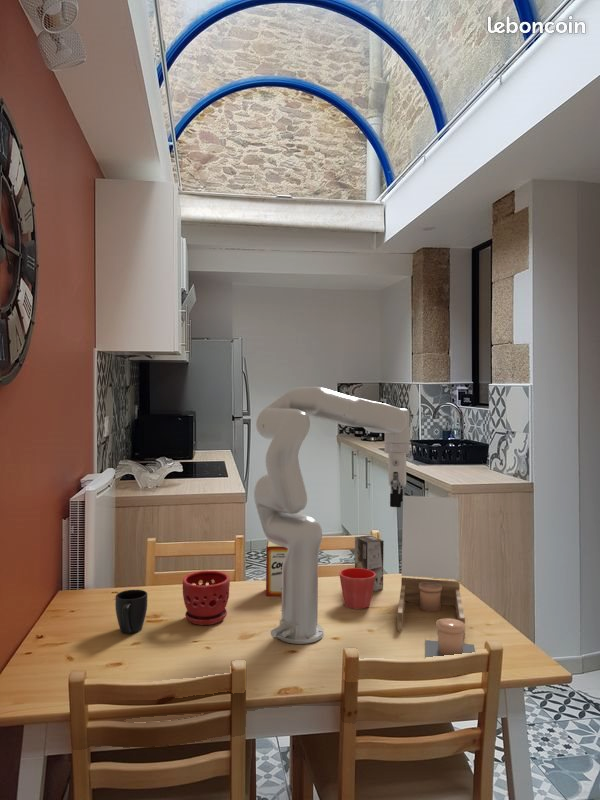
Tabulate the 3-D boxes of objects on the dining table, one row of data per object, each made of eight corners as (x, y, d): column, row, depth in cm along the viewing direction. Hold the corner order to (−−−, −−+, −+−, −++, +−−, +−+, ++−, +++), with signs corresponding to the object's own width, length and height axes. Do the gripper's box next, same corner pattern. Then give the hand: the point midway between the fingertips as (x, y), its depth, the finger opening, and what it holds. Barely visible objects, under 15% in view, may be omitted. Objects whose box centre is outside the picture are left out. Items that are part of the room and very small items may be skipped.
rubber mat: (478, 667, 135) (478, 665, 135) (425, 661, 137) (425, 660, 137) (473, 646, 146) (473, 644, 146) (425, 641, 149) (425, 640, 149)
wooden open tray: (464, 637, 152) (464, 610, 152) (397, 631, 155) (397, 605, 155) (459, 604, 176) (459, 581, 176) (401, 599, 180) (401, 577, 180)
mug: (107, 642, 147) (107, 604, 147) (119, 624, 159) (120, 589, 159) (139, 642, 147) (140, 604, 147) (150, 623, 159) (150, 589, 159)
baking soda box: (295, 589, 189) (296, 540, 189) (295, 596, 183) (296, 545, 183) (266, 589, 189) (267, 540, 189) (265, 596, 183) (266, 545, 183)
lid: (458, 498, 184) (458, 498, 186) (403, 495, 188) (403, 496, 190) (459, 579, 177) (458, 579, 178) (401, 575, 180) (401, 575, 182)
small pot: (458, 660, 137) (458, 631, 137) (431, 653, 141) (431, 624, 141) (468, 651, 142) (469, 622, 142) (442, 643, 147) (443, 616, 147)
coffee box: (384, 589, 190) (384, 540, 190) (366, 592, 187) (367, 542, 187) (370, 581, 198) (371, 534, 198) (353, 583, 196) (354, 536, 196)
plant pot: (176, 615, 165) (177, 573, 165) (220, 608, 171) (220, 568, 171) (189, 632, 154) (190, 587, 154) (236, 623, 160) (236, 580, 160)
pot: (435, 614, 168) (436, 590, 168) (414, 609, 172) (414, 585, 172) (445, 608, 173) (445, 584, 173) (424, 603, 177) (424, 580, 177)
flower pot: (377, 611, 170) (377, 578, 170) (340, 610, 170) (340, 577, 170) (373, 599, 181) (373, 568, 181) (338, 598, 181) (338, 567, 181)
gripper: (408, 451, 168) (407, 509, 168) (410, 446, 185) (409, 500, 185) (382, 450, 170) (381, 508, 170) (386, 446, 187) (386, 498, 187)
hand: (396, 504), depth 177 cm, fingers open, 9 cm apart
